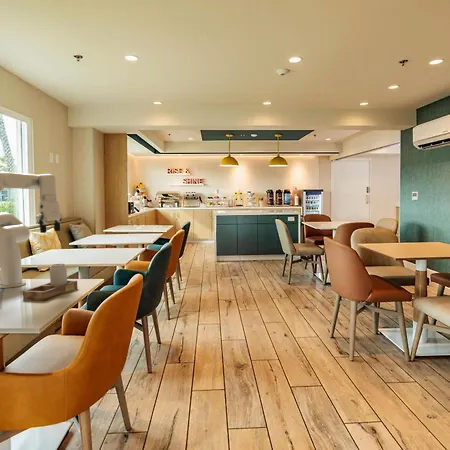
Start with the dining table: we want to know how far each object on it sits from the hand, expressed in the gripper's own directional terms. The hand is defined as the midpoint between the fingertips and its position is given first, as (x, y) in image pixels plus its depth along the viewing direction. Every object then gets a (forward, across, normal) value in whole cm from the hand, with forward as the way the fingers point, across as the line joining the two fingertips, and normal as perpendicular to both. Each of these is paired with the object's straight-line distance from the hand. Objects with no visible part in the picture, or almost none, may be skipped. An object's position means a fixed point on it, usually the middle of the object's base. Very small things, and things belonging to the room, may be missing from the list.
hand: (50, 231), depth 185 cm
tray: (+28, -14, -11) cm, 33 cm away
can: (+27, -9, -11) cm, 31 cm away
